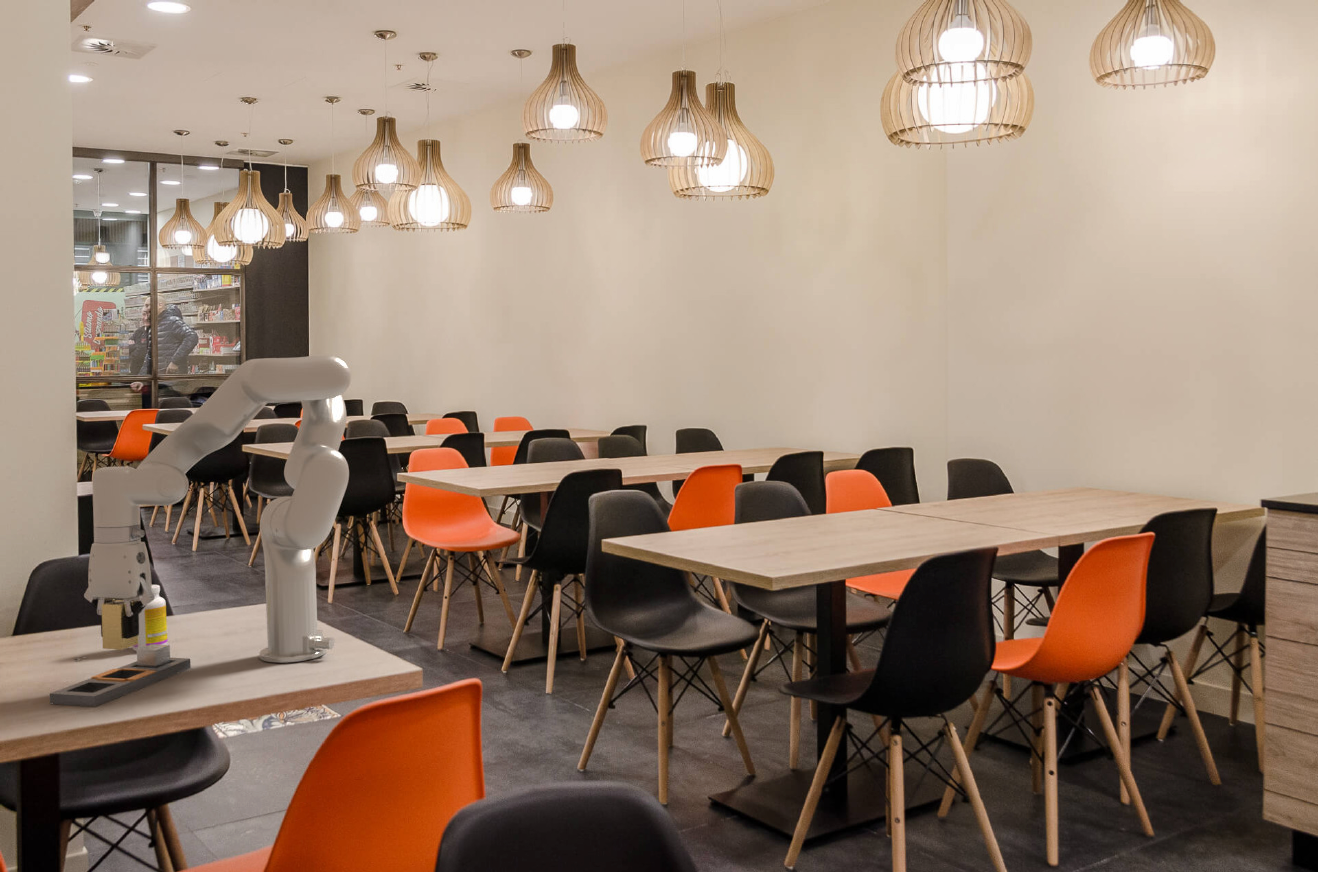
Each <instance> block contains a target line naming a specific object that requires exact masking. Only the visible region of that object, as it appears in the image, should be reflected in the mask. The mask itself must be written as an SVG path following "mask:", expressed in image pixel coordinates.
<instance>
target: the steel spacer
mask: <svg viewBox="0 0 1318 872" xmlns="http://www.w3.org/2000/svg"><path fill="white" fill-rule="evenodd" d="M170 658H171V647H170V645H169V644H167V645H157V644H151V645H148V646H145V647H142V648H139V649H137V651H136V661H137V667H144V668H159V667H161V666H164V665H166V664H169V663H170Z"/></svg>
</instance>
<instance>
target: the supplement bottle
mask: <svg viewBox="0 0 1318 872" xmlns="http://www.w3.org/2000/svg"><path fill="white" fill-rule="evenodd" d="M151 585H152V588H151V591H152V593H153V595H154V597H155V599H154V600H153V601H151V602H150V603H149V604H147V605H146V606H145V607H144V609H143V610H142V613H140V614H139V635H138V636H137V642H138V645H135V646H132V647H131V648H132V650H133V651H135V652H137V649H139V648H142V647H145V646H148V645H151V644H157V645H169V642H168V623H167V622H168V621H167V605H166V603H167V602H166V600H165V598H163V597H161V596H160V591H161V586H160V585H159V584H151ZM141 598H142V596H140V599H141Z"/></svg>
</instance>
